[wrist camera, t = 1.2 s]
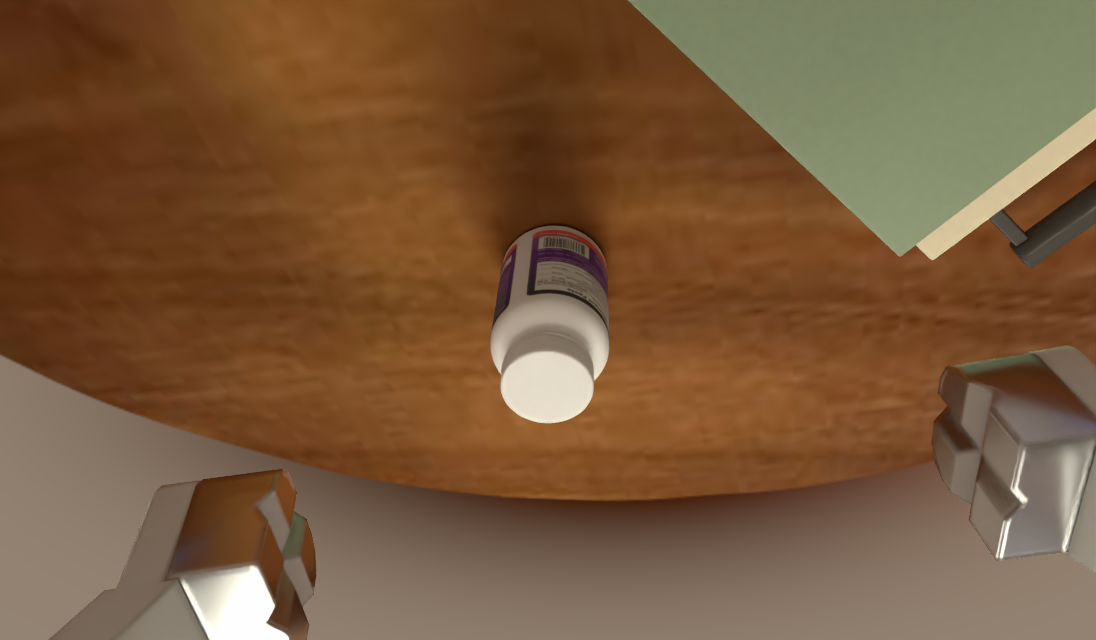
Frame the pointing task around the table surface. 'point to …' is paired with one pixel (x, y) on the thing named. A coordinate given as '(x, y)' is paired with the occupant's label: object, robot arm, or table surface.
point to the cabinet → (897, 91)
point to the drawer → (1052, 229)
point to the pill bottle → (551, 323)
